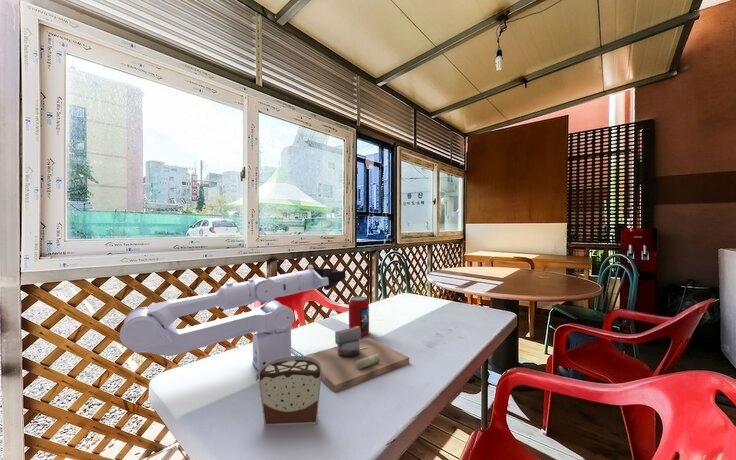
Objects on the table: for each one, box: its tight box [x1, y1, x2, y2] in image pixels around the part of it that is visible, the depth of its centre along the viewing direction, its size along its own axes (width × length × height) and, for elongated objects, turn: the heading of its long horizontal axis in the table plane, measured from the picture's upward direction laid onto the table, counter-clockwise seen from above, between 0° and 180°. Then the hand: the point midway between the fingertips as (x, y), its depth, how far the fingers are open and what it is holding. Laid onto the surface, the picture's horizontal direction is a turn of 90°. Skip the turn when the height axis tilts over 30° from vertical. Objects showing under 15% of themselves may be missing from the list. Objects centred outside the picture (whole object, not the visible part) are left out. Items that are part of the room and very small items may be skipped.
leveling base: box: [304, 337, 410, 393], centre depth 76 cm, size 22×18×4 cm
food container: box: [254, 355, 325, 427], centre depth 55 cm, size 12×6×10 cm, turn 92°
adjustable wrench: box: [291, 346, 304, 356], centre depth 86 cm, size 14×1×5 cm
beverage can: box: [348, 295, 370, 337], centre depth 98 cm, size 7×7×12 cm
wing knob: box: [334, 326, 362, 357], centre depth 79 cm, size 7×6×6 cm
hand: (338, 273), depth 89 cm, fingers open, 7 cm apart
